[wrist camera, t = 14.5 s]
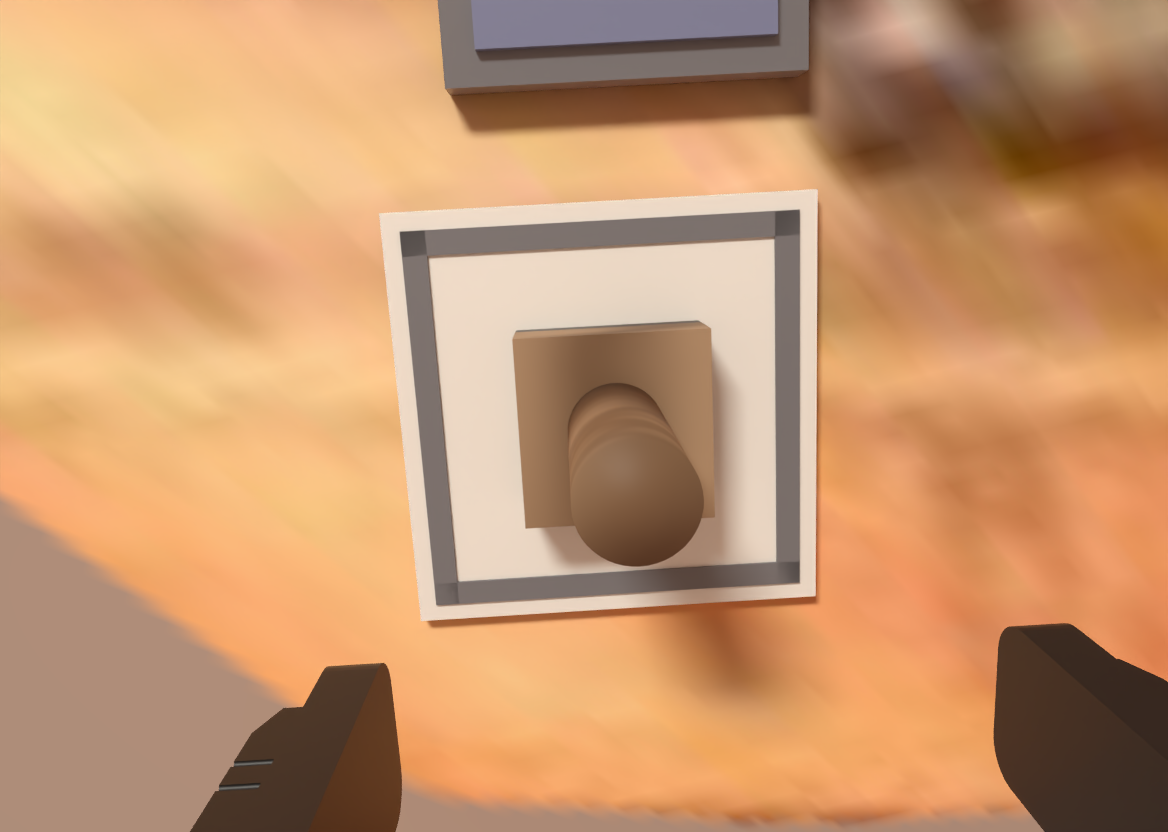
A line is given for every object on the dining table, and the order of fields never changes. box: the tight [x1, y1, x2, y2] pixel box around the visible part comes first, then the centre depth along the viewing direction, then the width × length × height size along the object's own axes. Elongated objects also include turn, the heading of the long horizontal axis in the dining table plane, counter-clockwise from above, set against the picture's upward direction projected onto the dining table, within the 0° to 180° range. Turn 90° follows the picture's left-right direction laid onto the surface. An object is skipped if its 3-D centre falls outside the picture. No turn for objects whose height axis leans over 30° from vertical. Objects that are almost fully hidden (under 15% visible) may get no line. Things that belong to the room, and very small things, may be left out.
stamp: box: [512, 320, 715, 567], centre depth 24 cm, size 6×6×10 cm
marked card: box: [379, 189, 818, 621], centre depth 29 cm, size 14×14×1 cm
